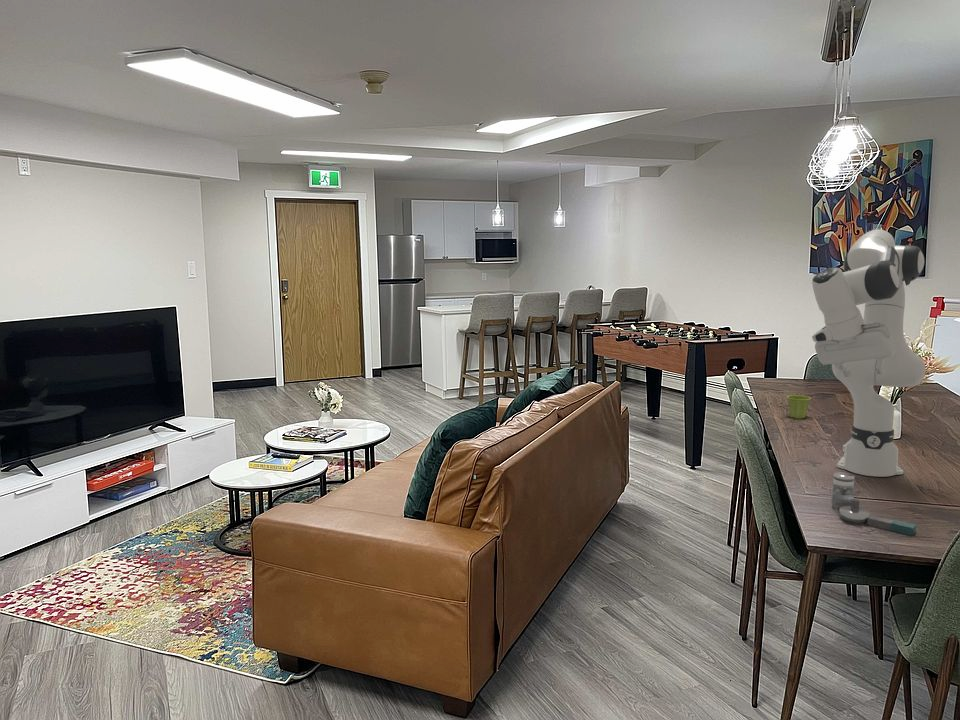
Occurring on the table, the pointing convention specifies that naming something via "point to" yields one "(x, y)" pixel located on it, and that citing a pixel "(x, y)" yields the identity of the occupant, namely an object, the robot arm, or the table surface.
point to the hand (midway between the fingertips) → (864, 374)
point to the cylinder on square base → (842, 489)
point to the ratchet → (873, 519)
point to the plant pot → (798, 406)
